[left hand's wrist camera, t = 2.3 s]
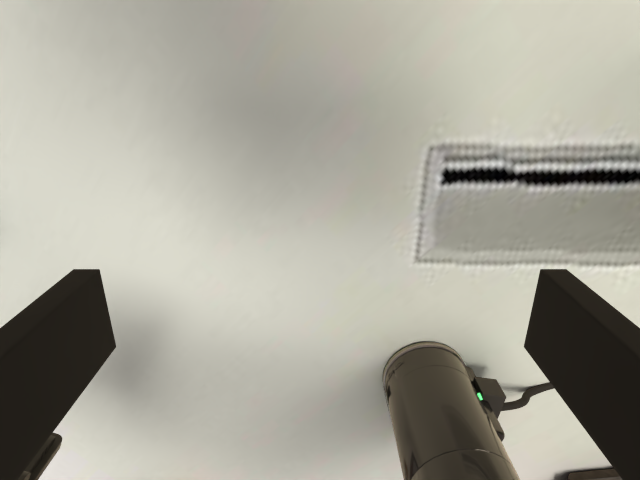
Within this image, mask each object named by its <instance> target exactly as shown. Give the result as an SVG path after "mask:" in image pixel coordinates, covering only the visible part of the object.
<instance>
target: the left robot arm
mask: <svg viewBox="0 0 640 480" xmlns="http://www.w3.org/2000/svg"><path fill="white" fill-rule="evenodd" d="M115 348H116V344H115V340H114V335H113V330H112V326H111V321H110V316H109V312H108V307H107V302H106V298H105V293H104V288H103V284H102V279H101V274H100V270H99V269H74V270H72V271H71V272H70V273H69V274H67V275H66V276H65V277H64V278H62V279H61V280H60V281H59V282H57V283H56V284H55V285H54V286H52V287H51V288H50V289H49V290H47V291H46V292H45V293H44V294H42V295H41V296H40V297H39V298H37V299H36V300H35V301H34V302H32V303H31V304H30V305H29V306H27V307H26V308H25V309H24V310H22V311H21V312H20V313H19V314H18V315H16V316H15V317H14V318H13V319H11V320H10V321H9V322H8V323H6V324H5V325H4V326H3V327H1V328H0V480H18V478H19V477H20V476H21V474H22V473H23V472H24V470H25V469H26V468H27V466H28V465H29V463H30V462H31V461H32V459H33V458H34V457H35V455H36V454H37V453H38V451H39V450H40V449H41V447H42V446H43V445H44V443H45V442H46V441H47V439H48V438H49V437H50V435H51V434H52V432H53V431H54V430H55V428H56V427H57V426H58V424H59V423H60V422H61V420H62V419H63V418H64V416H65V415H66V414H67V412H68V411H69V410H70V408H71V407H72V405H73V404H74V403H75V401H76V400H77V399H78V397H79V396H80V395H81V393H82V392H83V391H84V389H85V388H86V387H87V385H88V384H89V383H90V381H91V380H92V379H93V377H94V376H95V374H96V373H97V372H98V370H99V369H100V368H101V366H102V365H103V364H104V362H105V361H106V360H107V358H108V357H109V356H110V354H111V353H112V352H113V350H114V349H115ZM524 348H525V349H526V350H527V352H528V353H529V354H530V356H531V357H532V358H533V360H534V361H535V362H536V364H537V365H538V366H539V368H540V369H541V370H542V372H543V373H544V374H545V376H546V377H547V379H548V380H549V381H550V383H551V384H552V385H553V387H554V388H555V389H556V391H557V392H558V393H559V395H560V396H561V397H562V399H563V400H564V401H565V403H566V404H567V405H568V407H569V408H570V410H571V411H572V412H573V414H574V415H575V416H576V418H577V419H578V420H579V422H580V423H581V424H582V426H583V427H584V428H585V430H586V431H587V432H588V434H589V435H590V437H591V438H592V439H593V441H594V442H595V443H596V445H597V446H598V447H599V449H600V450H601V451H602V453H603V454H604V455H605V457H606V458H607V459H608V461H609V462H610V463H611V465H612V466H613V468H614V469H615V470H616V472H617V473H618V474H619V476H620V477H621V478H622V480H640V328H639V327H637V326H636V325H635V324H634V323H632V322H631V321H630V320H629V319H627V318H626V317H625V316H624V315H622V314H621V313H620V312H619V311H618V310H616V309H615V308H614V307H613V306H611V305H610V304H609V303H608V302H606V301H605V300H604V299H603V298H601V297H600V296H599V295H598V294H596V293H595V292H594V291H593V290H591V289H590V288H589V287H588V286H586V285H585V284H584V283H583V282H581V281H580V280H579V279H578V278H576V277H575V276H574V275H573V274H571V273H570V272H569V271H568V270H566V269H541V270H540V274H539V279H538V284H537V288H536V293H535V298H534V302H533V307H532V312H531V316H530V321H529V326H528V330H527V335H526V340H525V344H524Z"/></svg>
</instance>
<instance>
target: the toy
mask: <svg viewBox="0 0 640 480" xmlns="http://www.w3.org/2000/svg"><path fill="white" fill-rule="evenodd" d="M568 480H622V478H621V477H620V476H619V474H618V473H617V472H616V470H615V469H604V470H594V471H585V472H575V473H570V474H569V475H568Z"/></svg>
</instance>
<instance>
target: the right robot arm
mask: <svg viewBox="0 0 640 480" xmlns="http://www.w3.org/2000/svg"><path fill="white" fill-rule="evenodd" d="M383 385H384V389H385V391H384V392H386V395H387V400H388V404H387V405H389V409H388V410H390V415H391V420H392V424H393V429H394V434H395V439H396V444H397V448H398V453H399V458H400V463H401V468H402V472H403V477H404V480H520V479H519V476H518V474H517V472H516V470H515V469H514V467H513V465H512V463H511V460H510V458H509V456H508V454H507V452H506V450H505V448H504V446H503V444H502V441H503V439H504V431H503V429H502V427H501V425H500V423H499V422H498V420H497V419H498V416H499V414H500V411H505V410H513V409H517V408H521V407H523V406H525V405H526V404H527V403H528V402H529V400H530V397H531V396H533V395H536V394H538V393H541V392H543V391H546V390H550V389H553V388H554V387H553V385H552V384H551V383H550V382H549V383H545V384H541V385H538V386H535V387H532V388H530V389H528V390H526V391H525V392H524V393H523V395H522V398H521V399H519V400H516V401H513V402H507V403H504V402H505V399H506V396H505V394H504V392H503V391H502V389H501V387H500V385H499V384H498V382H497V380H496V379H488V378H480V377H476V376H475V374H474V373H473V371H472V369H471V368H469V367H466V366H465V364H464V362H463V360H462V358H461V357H460V356H459V354H458V353H457V352H455V351H454V350H453V349H451V348H450V347H448V346H445V345H443V344H439V343H433V342H423V343H416V344H413V345H410V346H407V347H405V348H403V349H401V350H400V351H398V352H397V353H396V354H395V355H394V356H393V357H392V358H391V359H390V360H389V361H388V363H387V365H386V367H385V369H384V373H383ZM386 395H385V396H386ZM387 400H386V401H387ZM61 442H62V437H61V436H60V435H59V434H56V433H52V434H51V435H50V437H49V438H48V439H47V441H46V442H45V443H44V445H43V446H42V447H41V449H40V450H39V451H38V453H37V454H36V455H35V457H34V458H33V459H32V461H31V462H30V463H29V465H28V466H27V468H26V469H25V470H24V472H23V473H22V474H21V476H20V477H19V478H18V480H38V479H39V477H40V476H41V474H42V473H43V472H44V470H45V469H46V467H47V466H48V464H49V463H50V461H51V460H52V459H53V457H54V456H55V454H56V453H57V451H58V450H59V448H60V446H61Z"/></svg>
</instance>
